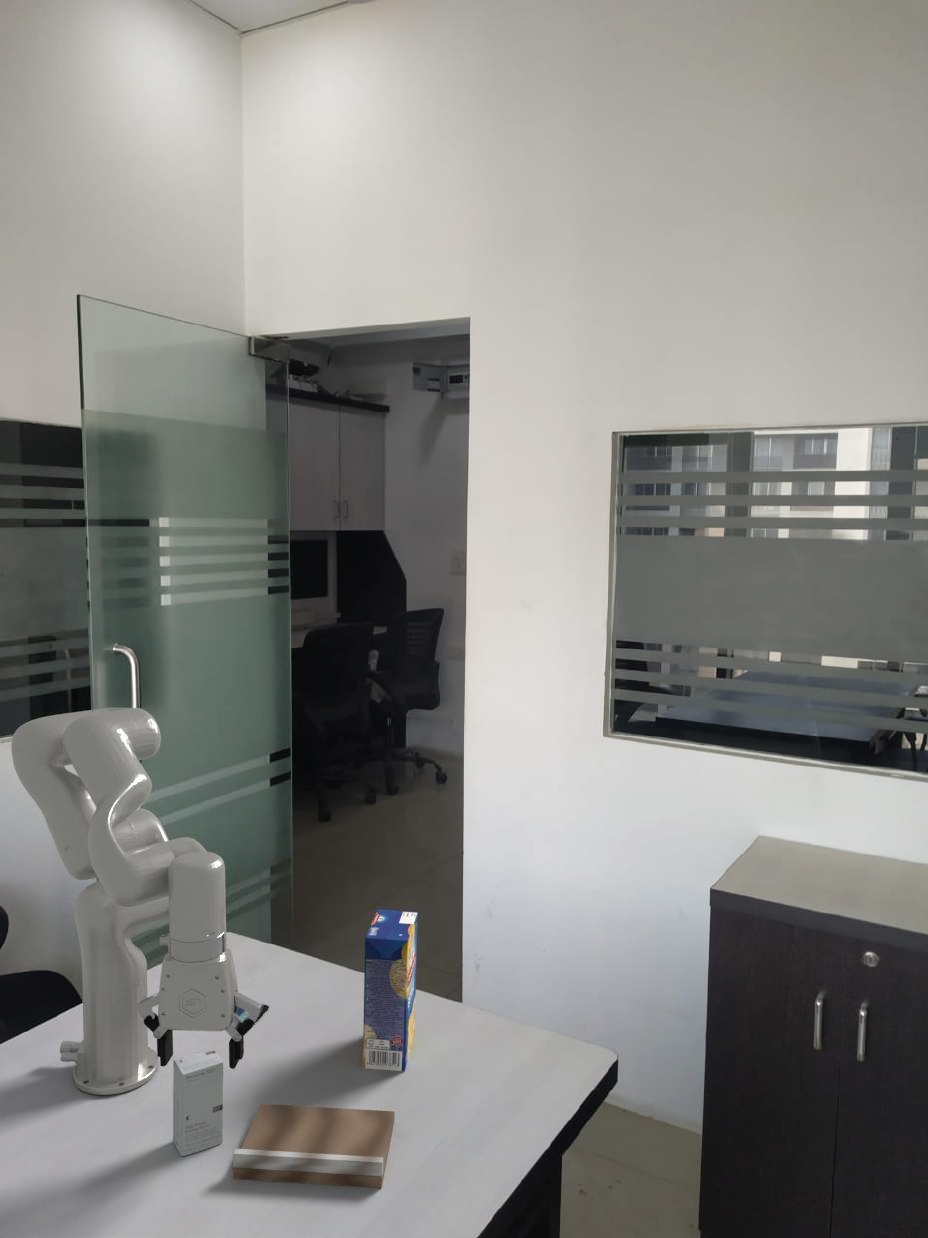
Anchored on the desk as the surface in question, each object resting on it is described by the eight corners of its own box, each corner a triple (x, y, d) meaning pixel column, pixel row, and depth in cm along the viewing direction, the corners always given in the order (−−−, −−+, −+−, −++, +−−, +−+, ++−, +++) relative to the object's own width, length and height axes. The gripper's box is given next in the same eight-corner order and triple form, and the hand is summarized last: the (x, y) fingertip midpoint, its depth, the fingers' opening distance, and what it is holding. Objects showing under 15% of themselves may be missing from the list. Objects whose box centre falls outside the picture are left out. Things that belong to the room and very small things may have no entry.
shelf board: (233, 1179, 128) (233, 1154, 128) (260, 1113, 142) (260, 1091, 142) (381, 1188, 127) (382, 1163, 127) (394, 1121, 141) (394, 1098, 141)
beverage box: (414, 1034, 164) (417, 912, 162) (404, 1072, 153) (407, 941, 151) (375, 1031, 165) (377, 909, 162) (362, 1068, 154) (364, 938, 151)
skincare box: (181, 1158, 132) (180, 1076, 130) (171, 1140, 136) (171, 1060, 134) (224, 1143, 135) (224, 1062, 134) (214, 1126, 139) (214, 1047, 138)
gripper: (125, 954, 128) (129, 1075, 130) (253, 958, 128) (255, 1080, 129) (146, 931, 136) (149, 1046, 138) (267, 934, 135) (269, 1049, 137)
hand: (200, 1062), depth 133 cm, fingers open, 9 cm apart
